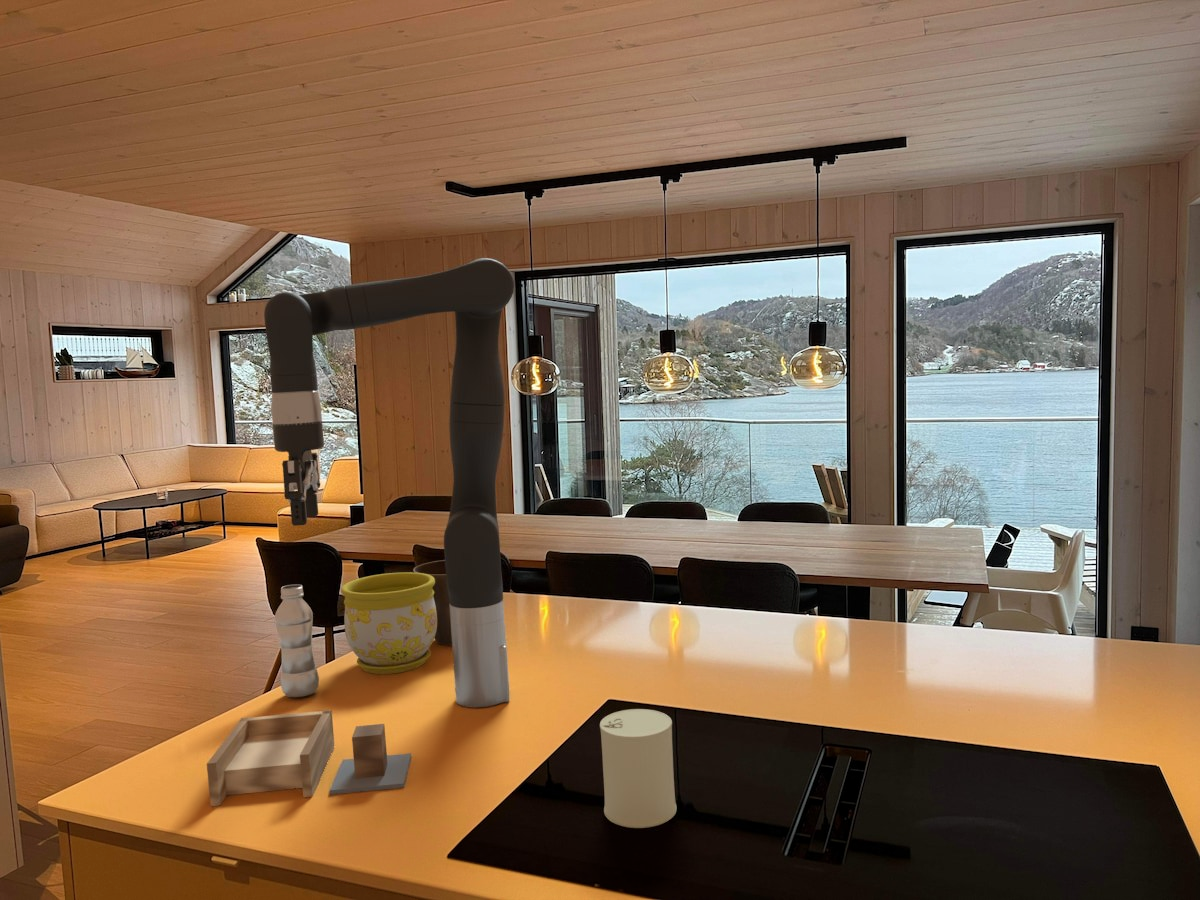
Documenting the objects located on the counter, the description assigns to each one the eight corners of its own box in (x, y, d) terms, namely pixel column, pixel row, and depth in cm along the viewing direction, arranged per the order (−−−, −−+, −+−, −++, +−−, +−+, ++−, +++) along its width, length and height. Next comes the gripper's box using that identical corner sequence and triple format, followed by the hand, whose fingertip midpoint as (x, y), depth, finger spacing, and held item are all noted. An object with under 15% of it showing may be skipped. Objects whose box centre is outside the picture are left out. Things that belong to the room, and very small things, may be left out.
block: (387, 763, 132) (384, 723, 132) (384, 775, 128) (381, 734, 128) (359, 766, 132) (356, 726, 131) (355, 778, 128) (351, 737, 127)
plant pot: (463, 625, 205) (459, 555, 203) (503, 638, 194) (498, 564, 192) (405, 642, 195) (399, 568, 193) (443, 655, 184) (438, 577, 182)
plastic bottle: (309, 702, 161) (299, 591, 159) (274, 701, 162) (264, 591, 161) (326, 689, 167) (318, 582, 165) (293, 688, 169) (284, 582, 167)
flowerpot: (341, 659, 185) (335, 579, 183) (429, 644, 192) (424, 568, 190) (354, 685, 168) (347, 598, 167) (450, 668, 175) (444, 585, 174)
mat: (411, 757, 135) (411, 753, 135) (403, 787, 125) (403, 783, 125) (342, 763, 134) (342, 759, 134) (329, 794, 124) (329, 790, 124)
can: (601, 796, 120) (596, 708, 119) (670, 790, 120) (666, 702, 119) (607, 831, 111) (602, 736, 110) (682, 824, 111) (678, 729, 110)
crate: (334, 748, 140) (331, 710, 140) (312, 796, 124) (308, 754, 124) (244, 756, 139) (241, 718, 138) (210, 806, 123) (206, 763, 122)
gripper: (312, 421, 138) (320, 526, 140) (330, 416, 153) (337, 512, 154) (261, 424, 138) (270, 530, 139) (284, 419, 152) (292, 515, 153)
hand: (305, 520), depth 147 cm, fingers open, 8 cm apart
